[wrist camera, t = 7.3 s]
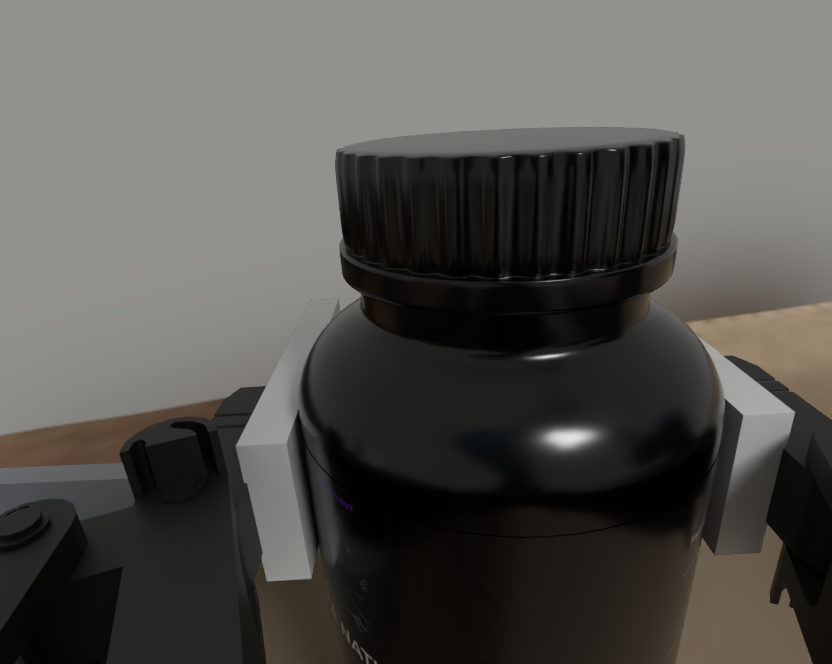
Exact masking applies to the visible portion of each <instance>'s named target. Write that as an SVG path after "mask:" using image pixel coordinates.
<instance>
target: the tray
mask: <svg viewBox="0 0 832 664" xmlns="http://www.w3.org/2000/svg"><path fill="white" fill-rule="evenodd" d="M43 499H64V500H66V501H69V502H71V503H73V505H74V507H75V510H76V512H77V515H78V517H79V520H80V521H81V520H84V519H88V518H92V517H96V516H99V515H103V514H107V513H111V512H114V511H118V510H122V509H125V508H128V507H131V506H134V502H135V499H134V496H133V493H132V490H131V487H130V484H129V481H128V478H127V475H126V472H125V469H124V466H123V463H105V464H83V465H61V466H38V467H16V468H0V515H1V514H3V513H4V512H6V511H8V510H10V509H12V508H14V507H18V506H19V505H22V504H25V503H29V502H34V501H39V500H43Z"/></svg>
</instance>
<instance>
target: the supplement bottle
mask: <svg viewBox="0 0 832 664" xmlns="http://www.w3.org/2000/svg"><path fill="white" fill-rule="evenodd" d="M684 155H685V137H684V135H681V134H678V133H677V132H671V131H664V130H658V129H646V128H624V127H561V128H526V129H501V130H483V131H465V132H450V133H436V134H424V135H412V136H402V137H395V138H386V139H379V140H372V141H367V142H361V143H357V144H353V145H348V146H345V147H343V148H340V149H338V150H337V152H336V160H335V169H336V180H337V190H338V199H339V209H340V218H341V226H342V234H343V238H342V240H341V242H340V245H339V247H340V258H341V266H342V274H343V277H344V279H345V280H346V282H347V283H348V284H349V285H350V286H351V287H352V288H354V289H355V290H357V291H358V292H360V293H361V297H360V298H359V299H357V300H356V301H354V302H353V303H352V304H350V305H349V306H347V307H346V308H345V309H343V310H342V311H341V312H340V313H339V314H337V315H336V316H335V317H334V318H333V319H332V320H331V321H330V322H329V323H328V324H327V326H326V327H325V328H324V329H323V331H322V332H321V333H320V335H319V336H318V338H317V339H316V341H315V342H314V344H313V346H312V348H311V350H310V352H309V354H308V356H307V359H306V361H305V364H304V367H303V370H302V374H301V377H300V381H299V388H298V407H299V416H300V427H301V434H302V441H303V447H304V454H305V460H306V466H307V472H308V478H309V484H310V490H311V496H312V503H313V509H314V515H315V521H316V527H317V533H318V539H319V545H320V551H321V557H322V564H323V570H324V576H325V582H326V588H327V594H328V600H329V606H330V612H331V618H332V625H333V631H334V637H335V643H336V649H337V655H338V661H339V664H675V663H676V658H677V653H678V648H679V644H680V639H681V634H682V630H683V625H684V620H685V615H686V611H687V606H688V601H689V597H690V592H691V587H692V582H693V578H694V573H695V568H696V563H697V559H698V554H699V549H700V545H701V540H702V535H703V530H704V526H705V521H706V516H707V512H708V507H709V502H710V497H711V493H712V488H713V483H714V478H715V474H716V469H717V464H718V459H719V454H720V449H721V440H722V435H723V428H724V419H725V399H724V392H723V387H722V384H721V380H720V378H719V375H718V372H717V370H716V367H715V365H714V362H713V360H712V358H711V356H710V355H709V353H708V351H707V350H706V348H705V346H704V345H703V343H702V342H701V340H700V339H699V338H698V336H697V335H696V334H695V333H694V332H693V331H692V329H691V328H690V327H689V326H688V325H687V324H686V323H685V322H684V321H682V320H681V319H680V318H679V317H678V316H677V315H676V314H674V313H673V312H672V311H670V310H669V309H668V308H666V307H665V306H663V305H662V304H660V303H659V302H657V301H656V300H654V299H653V298H651V297H650V292H652V291H654V290H656V289H658V288H659V287H661V286H662V285H664V284H665V283H666V282H667V281H668V280H669V279H670V277H671V276H672V274H673V270H674V265H675V258H676V253H677V246H678V238H677V235H676V234H675V233H674V232H673V229H674V224H675V218H676V212H677V205H678V198H679V191H680V184H681V177H682V169H683V163H684Z"/></svg>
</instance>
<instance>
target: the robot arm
mask: <svg viewBox="0 0 832 664" xmlns="http://www.w3.org/2000/svg"><path fill="white" fill-rule="evenodd" d="M339 313H340V306H339V299H338V298H337V299H322V300H310V301H309V303H308V305H307V307H306V309H305V311H304V313H303V315H302V317H301V319H300V321H299V323H298V325H297V327H296V329H295V330H294V332H293V334H292V336H291V338H290V340H289V342H288V344H287V346H286V348H285V350H284V352H283V354H282V356H281V358H280V360H279V362H278V364H277V366H276V368H275V370H274V372H273V374H272V376H271V378H270V380H269V382H268V384H267V386H263V387H246V388H240V389H238V390H237V391H236V392H234V393H233V394H232V395H230V396H229V397H228V398H226V399H225V400H224V401H223V402H222V404H221V405H220V407H219V409H218V410H217V412H216V413H215V418H212V420H211V421H209V420H207V419H205V418H200V417H182V418H175V419H170V420H167V421H163V422H160V423H157V424H154V425H152V426H150V427H148V428H146V429H144V430H142V431H140V432H138V433H137V434H135V435H134V436H133V437H132V438H130V439H129V440H128V441H127V442H126V443H125V444H124V446H123V447H122V449H121V451H120V452H119V454H120V457H121V460H122V463H123V466H124V469H125V472H126V475H127V478H128V481H129V484H130V487H131V490H132V493H133V496H134V499H135V502H134V506H131V507H128V508H125V509H122V510H118V511H114V512H111V513H107V514H103V515H99V516H96V517H92V518H88V519H84V520H81V521H80V520H79V517H78V515H77V512H76V510H75V507H74V505H73V503H71V502H69V501H66V500H64V499H43V500H39V501H34V502H29V503H25V504H22V505H19V506H18V507H14V508H12V509H10V510H8V511H6V512H4V513H3V514H1V515H0V664H266V657H265V649H264V641H263V632H262V624H261V616H260V608H259V600H258V595H257V591H256V587H255V583H254V578H255V575H256V572H257V569H258V566H259V563H260V560H261V559H262V563H263V567H264V572H265V576H266V580H267V581H284V580H301V579H312V574H313V569H314V564H315V559H316V554H317V549H318V544H319V539H318V533H317V527H316V521H315V515H314V509H313V503H312V496H311V490H310V484H309V478H308V472H307V466H306V460H305V454H304V447H303V441H302V434H301V427H300V416H299V407H298V388H299V381H300V377H301V374H302V370H303V367H304V364H305V361H306V359H307V356H308V354H309V352H310V350H311V348H312V346H313V344H314V342H315V341H316V339H317V338H318V336H319V335H320V333H321V332H322V331H323V329H324V328H325V327H326V326H327V324H328V323H329V322H330V321H331V320H332V319H333V318H334V317H335V316H336V315H337V314H339ZM698 338H699V339H700V340H701V342H702V343H703V345H704V346H705V348H706V350H707V351H708V353H709V355H710V356H711V358H712V360H713V362H714V365H715V367H716V370H717V372H718V375H719V378H720V380H721V384H722V387H723V392H724V399H725V419H724V428H723V435H722V440H721V449H720V454H719V459H718V464H717V469H716V474H715V478H714V483H713V488H712V493H711V497H710V502H709V507H708V512H707V516H706V521H705V526H704V530H703V535H702V538H703V539H704V540H705V542H706V543H707V545H708V546H709V548H710V549H711V551H712V552H713V553H714V555H728V554H745V553H760V551H761V547H762V543H763V539H764V535H765V531H766V527H767V524H768V525H769V526H770V527H771V528H772V529H773V531H774V532H775V533H776V534H777V535H778V536H779V537H780V539H781V540H782V541H783V545H782V549H781V553H780V556H779V560H778V564H777V568H776V571H775V575H774V579H773V582H772V586H771V590H770V603H773V604H778V603H779V600H780V596H781V592H782V591H783V590H784V589H785V588H787V591H788V594H789V597H790V600H791V601H790V604H789V606H790V607H792V608H794V611H795V614H796V617H797V620H798V623H799V625H800V628H801V631H802V634H803V637H804V640H805V643H806V645H807V648H808V651H809V654H810V657H811V660H812V663H813V664H832V420H831V419H829V418H828V417H826V416H825V415H824V414H822V413H821V412H820V411H818V410H817V409H816V408H814V407H813V406H811V405H810V404H809V403H807V402H806V401H805V400H803V399H802V398H801V397H799V396H798V395H796V394H795V393H794V392H789V389H788V388H787V387H786V386H784V385H783V384H781V383H780V382H779V381H775V378H773V377H772V376H771V375H769V374H768V373H766V372H765V371H764V370H762V369H761V368H760V367H758V366H757V365H754V364H752V363H749V362H747V361H745V360H742V359H740V358H737V357H735V356H723V355H721V354H720V353H719V352H717V351H716V350H715V349H714V348H712V347H711V346H710V345H708V344H707V343H706V342H705V341H703V340H702V339H701V338H700V337H698Z"/></svg>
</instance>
